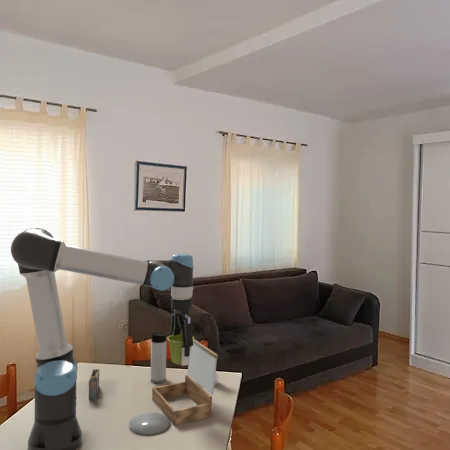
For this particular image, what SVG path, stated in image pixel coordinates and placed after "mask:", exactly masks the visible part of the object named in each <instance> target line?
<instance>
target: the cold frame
mask: <svg viewBox="0 0 450 450" xmlns="http://www.w3.org/2000/svg"><path fill="white" fill-rule="evenodd" d="M151 389H152V390H151V391H152V393H151V395H152V396H151V397H152V398H151V400H152V402H154V404H155V405H156V406H157V407H158V408H159V409H160V411H161V412H162V414H163V415H165V416H167V417H168V418H169V422H170V423H171V424H172V425H173V426H177V425H180V424H185V423H188V422H193V421H198V420H202V419H206V418H210V417H211V418H212V416H213V415H212V413H213V395H211V394H210V393H209V392H208V391H206V390H205V389H204V388H203V387H202V386H199V385H198V384H197V383H196V381H195V380H194V379H192V378H191V377H190V376H189V375H188V374H185V375H184V381H182V382H176V383H171V384H166V385H159V386H154V387H152V388H151ZM181 395H182V396H183V395H186V396H187V397H188V398H189V399H190V400H191V401H192V402H194V403H195V405H194V406H190V407H183V408H180V409H175V408H174V407H173V406H172V405H171V404H170V403H169V402H168V401H167V400H166V399H168V398H171V397H172V398H173V397H177V396H181Z"/></svg>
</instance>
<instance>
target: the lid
mask: <svg viewBox="0 0 450 450" xmlns="http://www.w3.org/2000/svg"><path fill="white" fill-rule="evenodd" d="M218 356H219V355H218V354H217V353H216V352H214V351H213V350H211V349H210V348H208V347H207V346H205V345H204V344H202V343H201V342H200V341H198V340H196V339H195V338H194V340H193V346H191V351H190V365H187V366H188V367H187V375H188V376H189V377H190V378H191V379H192V380H194V381H195V382H197V383H198V384H199V385H201V386H200V387H202V388H203V389H204V390H205V391H206V392H207V393H209V394H210V395H211V396H213V395H214V392H215V385H214V383H215V372H216V373H217V371H216V370H217V363H218V362H217V359H218V358H219V357H218Z"/></svg>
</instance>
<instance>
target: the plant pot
mask: <svg viewBox="0 0 450 450" xmlns="http://www.w3.org/2000/svg"><path fill="white" fill-rule="evenodd" d="M194 339H195V336H193V340H194ZM166 340H167V341H168V344H169V350H170V357H171V358H170V359H171V360H170V361H171V363H173V364H175V365H179V366H180V365H181V366H182V347H181V346H183V341H182V334H181V333H180V334H179V335H171V336H170V335H169V336H168V337H166ZM190 351H191V347H190Z"/></svg>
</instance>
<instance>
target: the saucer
mask: <svg viewBox="0 0 450 450" xmlns="http://www.w3.org/2000/svg"><path fill="white" fill-rule="evenodd" d="M128 425H129V428H128V429H129V430H130V431H131V432H133V433H134V434H138V435H143V436H150V435H151V436H152V435H156V434H157V435H158V434H159V433H163V432H164V431H166V430H167V429H168V428H169V427H170V420H169V418H168V417H167V416H165V414H164V413H159V412H143V413H140V414H137V415H135V416H133V417H132V418H131V419H130V420H129V423H128Z"/></svg>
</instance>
